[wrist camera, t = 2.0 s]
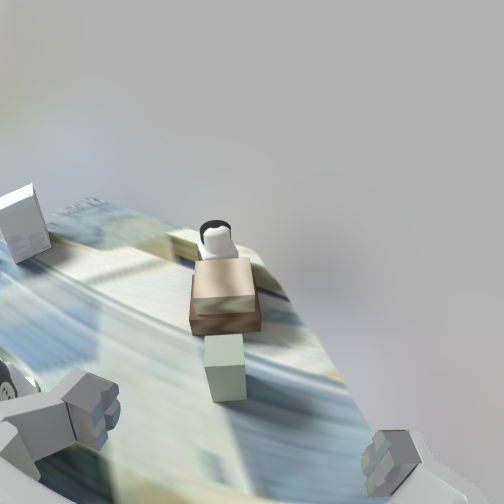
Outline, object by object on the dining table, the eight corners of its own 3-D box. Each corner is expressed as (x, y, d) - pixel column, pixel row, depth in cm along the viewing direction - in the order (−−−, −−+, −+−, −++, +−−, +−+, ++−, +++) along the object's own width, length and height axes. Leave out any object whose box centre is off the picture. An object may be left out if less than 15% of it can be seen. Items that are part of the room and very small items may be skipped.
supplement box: (48, 230, 84) (33, 182, 73) (52, 248, 75) (33, 194, 65) (15, 245, 77) (-3, 198, 67) (15, 265, 68) (-7, 212, 58)
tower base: (192, 336, 52) (189, 320, 50) (195, 291, 62) (192, 274, 60) (260, 332, 53) (260, 315, 51) (253, 288, 63) (253, 271, 60)
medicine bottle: (199, 267, 68) (193, 220, 61) (230, 260, 70) (227, 213, 63) (206, 287, 63) (200, 237, 56) (239, 279, 64) (237, 230, 58)
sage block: (213, 401, 41) (204, 366, 36) (212, 374, 45) (204, 336, 40) (246, 400, 42) (244, 364, 36) (244, 373, 46) (242, 333, 40)
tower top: (196, 315, 51) (192, 298, 48) (198, 277, 59) (195, 261, 57) (255, 311, 51) (254, 294, 49) (249, 274, 60) (249, 257, 57)
